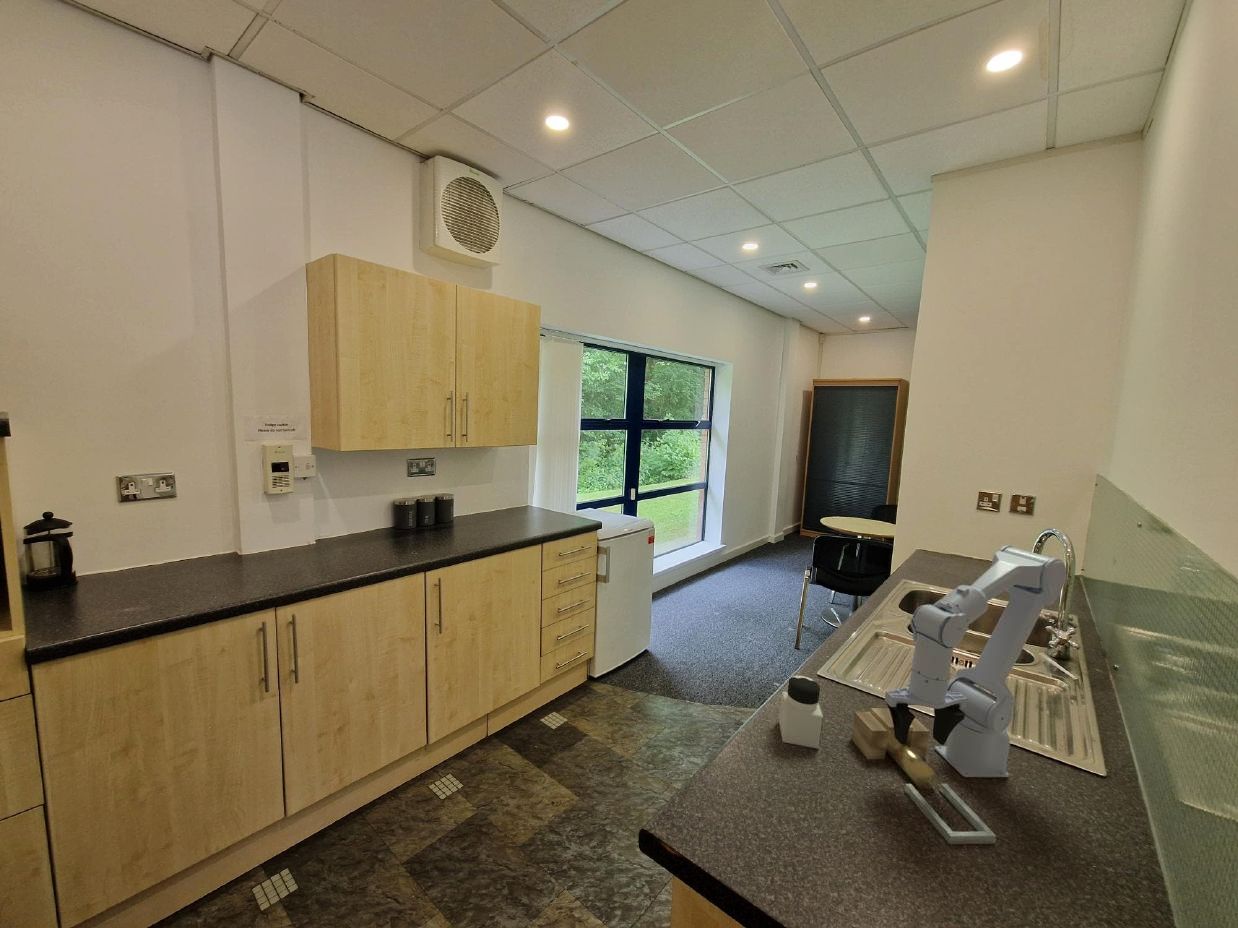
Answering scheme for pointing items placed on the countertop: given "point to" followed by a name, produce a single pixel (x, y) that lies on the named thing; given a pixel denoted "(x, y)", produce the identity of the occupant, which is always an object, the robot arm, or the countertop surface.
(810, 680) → the medicine bottle
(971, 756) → the robot arm
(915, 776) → the axle
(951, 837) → the cradle
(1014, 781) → the countertop surface
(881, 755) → the wooden stepped block
